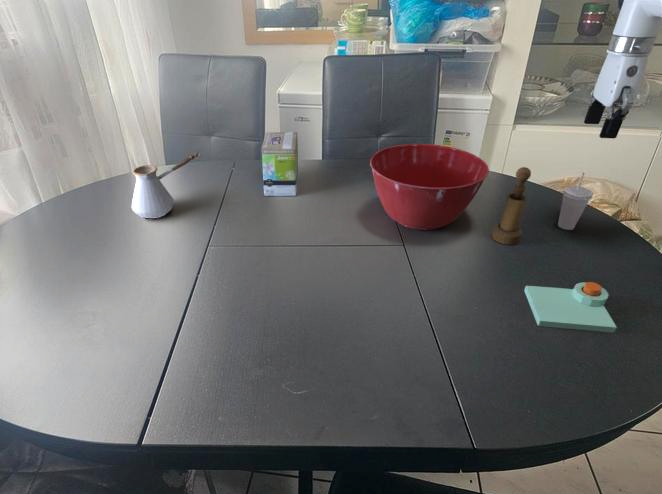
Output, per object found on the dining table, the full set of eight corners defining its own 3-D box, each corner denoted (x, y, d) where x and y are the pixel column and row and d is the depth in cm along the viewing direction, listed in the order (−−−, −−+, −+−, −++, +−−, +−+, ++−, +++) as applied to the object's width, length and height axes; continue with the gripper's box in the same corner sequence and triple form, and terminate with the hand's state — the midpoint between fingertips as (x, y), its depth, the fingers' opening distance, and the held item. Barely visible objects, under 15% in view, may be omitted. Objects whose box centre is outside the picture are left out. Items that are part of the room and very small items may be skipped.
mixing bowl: (491, 211, 121) (504, 155, 112) (451, 258, 102) (464, 197, 94) (396, 187, 135) (401, 136, 126) (346, 225, 117) (348, 169, 108)
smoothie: (569, 219, 116) (588, 167, 108) (586, 231, 111) (606, 178, 103) (546, 221, 115) (563, 170, 107) (562, 233, 110) (581, 180, 102)
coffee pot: (136, 226, 119) (122, 173, 111) (131, 208, 128) (117, 158, 119) (214, 209, 126) (206, 158, 118) (204, 194, 135) (196, 145, 126)
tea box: (297, 196, 132) (295, 147, 123) (263, 197, 132) (259, 148, 124) (298, 176, 144) (297, 130, 136) (267, 176, 144) (264, 131, 136)
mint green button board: (596, 295, 90) (601, 283, 88) (619, 333, 81) (625, 321, 79) (523, 289, 92) (527, 278, 91) (537, 326, 83) (542, 314, 81)
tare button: (595, 288, 88) (598, 282, 87) (601, 297, 85) (604, 291, 84) (580, 287, 88) (583, 281, 87) (585, 296, 86) (588, 289, 85)
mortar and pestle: (524, 244, 106) (546, 173, 96) (497, 245, 106) (516, 174, 96) (513, 231, 112) (533, 162, 102) (487, 231, 112) (504, 163, 102)
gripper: (672, 53, 82) (634, 144, 92) (632, 38, 96) (602, 119, 106) (628, 53, 83) (594, 143, 93) (594, 38, 97) (568, 118, 107)
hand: (598, 130), depth 99 cm, fingers open, 9 cm apart
